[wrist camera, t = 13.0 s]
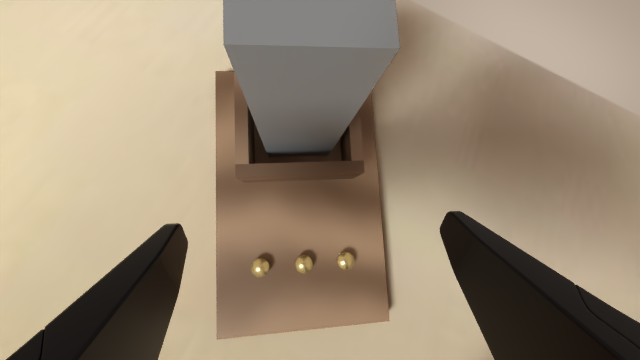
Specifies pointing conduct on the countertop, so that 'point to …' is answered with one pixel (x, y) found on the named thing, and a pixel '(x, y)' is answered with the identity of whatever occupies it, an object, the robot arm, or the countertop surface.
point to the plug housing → (308, 65)
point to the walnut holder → (295, 228)
